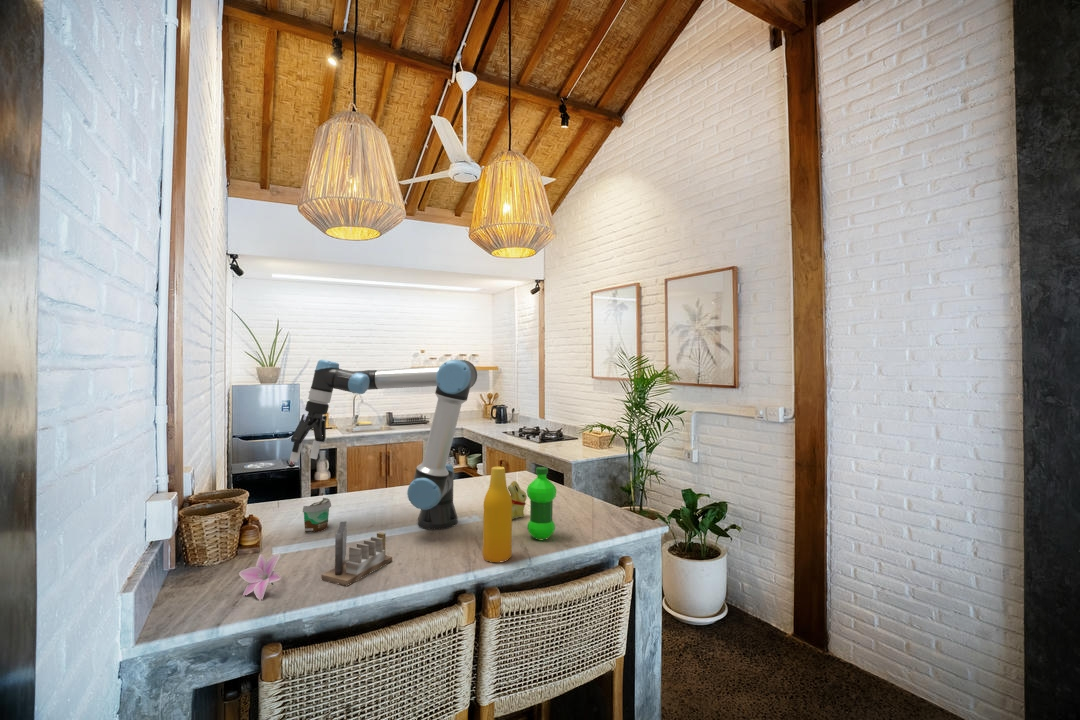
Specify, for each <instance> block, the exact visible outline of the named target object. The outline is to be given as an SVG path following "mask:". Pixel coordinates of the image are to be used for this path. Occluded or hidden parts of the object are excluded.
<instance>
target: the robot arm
mask: <svg viewBox="0 0 1080 720" xmlns="http://www.w3.org/2000/svg"><path fill="white" fill-rule="evenodd" d="M312 377H313V378H312V383H311V387H310V390H309V391H308V398H307V399H308V401H306V403H305V408H304V411H306V412H307V414H304V413H303V414H302V415H301V418H300V421H299V422H298V425H297V427H296V428H295V430H294V432H293V434H292V436H291V437H290V440H291V441H290V442H292V443H293V445H292V450H291V452H290V456H289V460H288V461H289V462H293V463H299V460H300V456H301V452H302V449H303V443H302V442H303V441H304V439H305V438H306V436H308V434H309V432H310V431H311V430H312V429H313V434H314V440H313V442H312V445H311V449H310V453H309V456H308V457H309V459H313V460H317V459H318V458H319V457H318V456H319V452H320V448H321V444H322V442H323V443H324V442H325V441H326V437H327V436H326V435H327V433H326V432H327V430H326V429H327V427H326V426H327V414H328V411H329V407H330V405H329V404H330V403H331V400H332V395H333V391H334V389H335V390H339V391H344V392H349V393H352V394H358V395H364V394H365V393H366V392H367V391H368V390H383V389H385V390H386V389H388V390H389V389H405V388H425V387H436V388H435V392H434V394H435V395H436V397H437V402H436V406H435V411H434V414H433V419H432V421H431V426H430V431H429V435H428V438H427V442H426V446H425V449H424V450H425V451H424V454H423V457H422V458H423V459H422V462H421V463H419V464H418V465H417V466H416V470H415V473H414V477H413V480H412V481H411V482H410V484H409V485H408V487H407V490H406V491H407V492H406V494H407V498H408V501H409V502H410V503H411V505H412V506H413V507H415V508H416V509H419V510H420V511H419V515H418V516H417V526H418V527H419V528H422V529H426V530H444V529H450V528H452V527H455V526H456V525H457V524H458V522H459V521H458V518H459V517H458V513H457V511H456V507H455V505H454V504H455V503H454V480H455V479H454V474H455V472H454V471H455V470H454V466H453V465H452V464H451V463H448V460H449V457H450V451H451V448H452V445H453V441H454V435H455V432H456V428H457V423H458V420H459V416H460V413H461V408H462V405H463V404H464V403H466V402H467V401H468V398H469V393H470V390H471V388H472V387H474V385H475V384H476V382H477V379H478V370H477V368H476V367H475V365H474V364H473V363H472V362H470V361H468V360H466V359H456V358H455V359H450V360H449V359H448V361H445V362H444V363H442V364H441V365H440V366H427V367H426V366H425V367H409V368H407V367H406V368H390V369H389V368H388V369H372V370H371V369H365V370H354V371H353V370H348V369H342V368H340V364H339V363H338V362H334V361H329V360H326V359H319V360H318V361H317V363H316V367H315V370H314V374H313V376H312ZM454 525H455V526H454ZM449 527H450V528H449Z"/></svg>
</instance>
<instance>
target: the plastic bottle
mask: <svg viewBox="0 0 1080 720" xmlns="http://www.w3.org/2000/svg"><path fill="white" fill-rule="evenodd" d="M535 474H536V475H537V476H536V478H535V479H534V480H532V482H531V483H529V484H528V486H527V488H526V493H527V494H526V496H527V497H528V499H529V500H530V502H529V503H530V507H529V509H530V510H529V511H530V512H529V513H530V517H529V521H528V523H527V531H528V533H529V534H530V535H531V537H533V539H534V538H537V539H546V538H548V539H549V538H550V537H551V536H552V535H553V534H554V532H555V529H556V526H555V521H554V520H553V506H554V505H553V503H554V501H553V500H554V499H555V498H556V497H557V487H556V485H555V484H554V483H553V482H552V481H551V480H549V479H548V478H547V475H548V474H549V469H548V467H547V466H538V467H536V468H535Z"/></svg>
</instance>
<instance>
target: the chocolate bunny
mask: <svg viewBox="0 0 1080 720" xmlns="http://www.w3.org/2000/svg"><path fill="white" fill-rule="evenodd" d="M507 489H508V491H509V493H510V496H511V499H512V520H515V519H514V518H516V519H519V518H518V517H521V518H523V517H524V516H525V513H524V511H525V506H526V500H527V497H528V495H527V494H526V493H527V492H525V490H523V489H521V487H520V485H519V483H518V482H517V481H516V480H513V481H512V482H511V483H510V484H509V485H508V486H507ZM522 516H523V517H522Z"/></svg>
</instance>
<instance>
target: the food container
mask: <svg viewBox="0 0 1080 720" xmlns="http://www.w3.org/2000/svg"><path fill="white" fill-rule="evenodd" d="M331 507H332V502H331V499H330V498H327V497H322V500H320V501H317V502H313V503H312V504H310V505H303V508H302V513H303V522H304V533H305V532H314V533H319V532H318V531H320V532H323V531H325V530H327V529H328V523H329V515H330V508H331ZM326 528H327V529H326ZM324 529H325V530H324ZM322 530H323V531H322Z"/></svg>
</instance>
